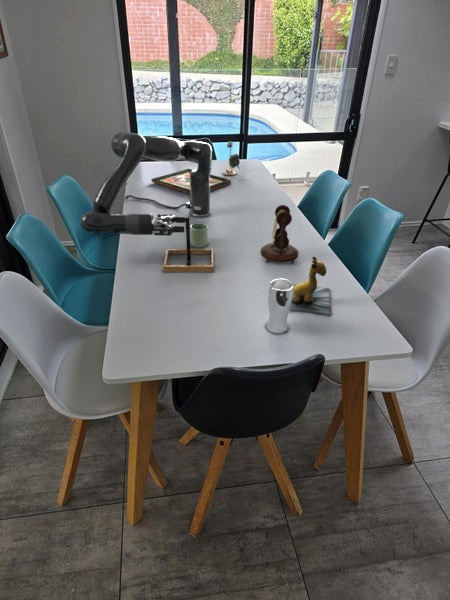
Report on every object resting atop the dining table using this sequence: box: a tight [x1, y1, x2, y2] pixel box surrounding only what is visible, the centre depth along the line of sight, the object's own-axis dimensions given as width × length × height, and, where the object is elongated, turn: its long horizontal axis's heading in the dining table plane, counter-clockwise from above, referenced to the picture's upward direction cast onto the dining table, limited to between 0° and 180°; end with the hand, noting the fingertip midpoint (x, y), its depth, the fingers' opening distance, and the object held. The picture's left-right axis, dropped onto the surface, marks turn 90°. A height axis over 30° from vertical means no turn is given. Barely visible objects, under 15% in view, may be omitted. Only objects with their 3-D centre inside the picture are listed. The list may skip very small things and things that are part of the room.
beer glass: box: [266, 278, 295, 334], centre depth 115 cm, size 7×7×15 cm
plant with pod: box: [222, 140, 241, 176], centre depth 246 cm, size 8×11×20 cm
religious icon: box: [151, 168, 232, 195], centre depth 232 cm, size 38×35×3 cm
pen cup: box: [190, 222, 209, 248], centre depth 163 cm, size 7×7×8 cm
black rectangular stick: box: [184, 215, 192, 266], centre depth 146 cm, size 4×1×18 cm, turn 2°
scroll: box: [260, 204, 299, 264], centre depth 152 cm, size 15×15×20 cm
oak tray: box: [162, 248, 214, 273], centre depth 152 cm, size 18×14×2 cm
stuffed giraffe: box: [290, 256, 331, 316], centre depth 129 cm, size 16×18×16 cm
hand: (184, 224), depth 143 cm, fingers open, 8 cm apart
